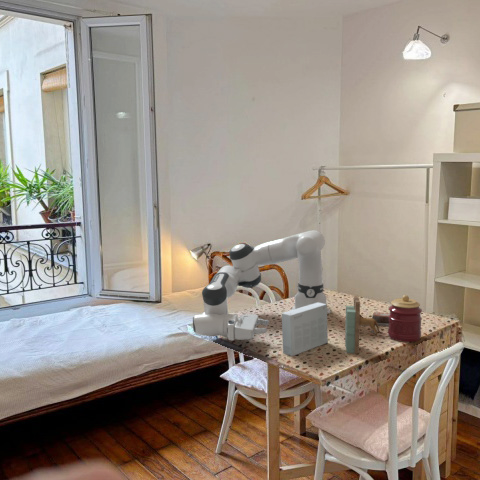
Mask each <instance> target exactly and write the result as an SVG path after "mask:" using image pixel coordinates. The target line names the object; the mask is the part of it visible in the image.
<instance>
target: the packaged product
mask: <svg viewBox="0 0 480 480" xmlns="http://www.w3.org/2000/svg"><path fill="white" fill-rule="evenodd" d="M389 314H390V312H389V313H387V312H381V311H379V312H378V311H374V312H373V313H372V315H371V316H372V317H371V318H373V319H374V320H375V321H376V322H377V324H378V327H383V328H384V327H385V328H388V325H389V317H388V315H389ZM375 327H377V326H376V324H375Z"/></svg>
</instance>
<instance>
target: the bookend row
mask: <svg viewBox="0 0 480 480" xmlns="http://www.w3.org/2000/svg"><path fill="white" fill-rule="evenodd" d="M360 315H361V301H360V298H359V296H358V295H353V305H345V330H344V332H345V335H344V336H345V338H344V340H345V341H344V343H345V344H344V346H345V351H346V354H355V355H356V354H360V328H361V326H360Z"/></svg>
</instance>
